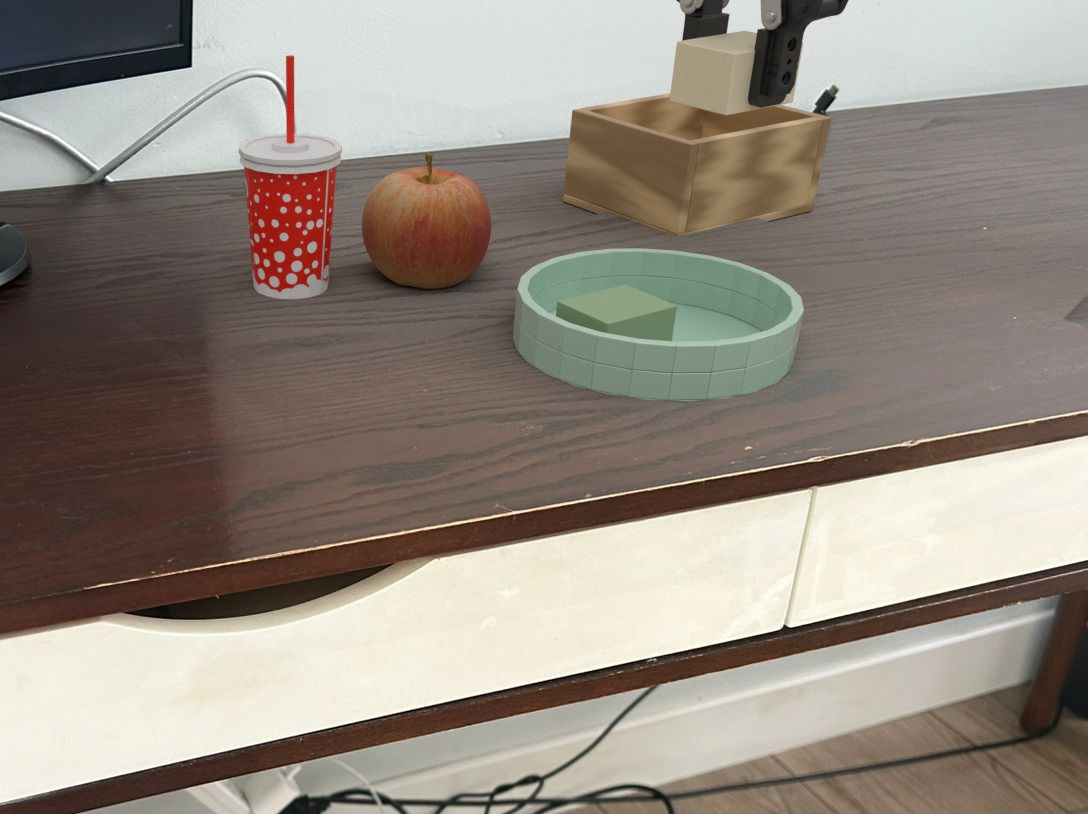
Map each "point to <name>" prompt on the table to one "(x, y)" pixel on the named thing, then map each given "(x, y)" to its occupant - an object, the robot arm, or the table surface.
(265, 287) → the beverage cup
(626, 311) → the green rectangular block
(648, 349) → the bowl
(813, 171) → the box
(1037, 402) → the table surface
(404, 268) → the apple
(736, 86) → the beige block
